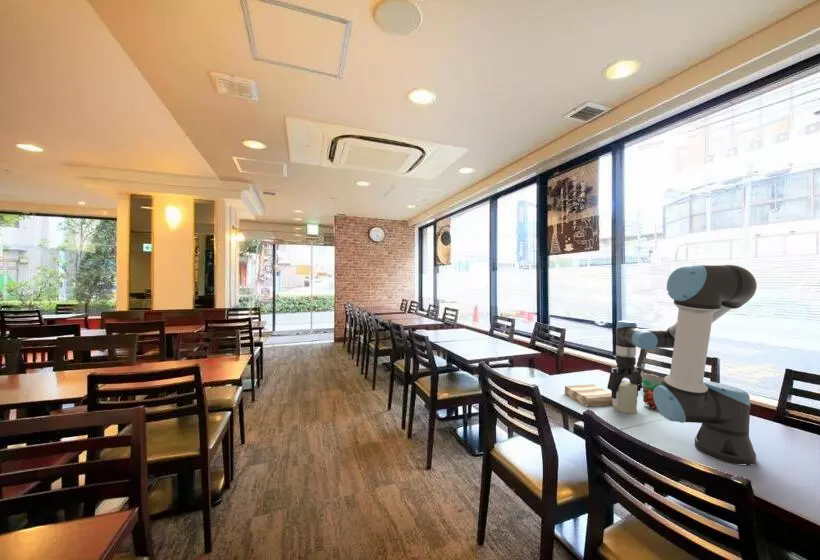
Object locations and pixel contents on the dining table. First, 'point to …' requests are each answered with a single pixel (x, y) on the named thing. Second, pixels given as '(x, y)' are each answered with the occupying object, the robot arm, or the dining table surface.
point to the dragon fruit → (649, 399)
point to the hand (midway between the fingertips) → (624, 404)
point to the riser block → (589, 395)
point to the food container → (651, 381)
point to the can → (627, 397)
